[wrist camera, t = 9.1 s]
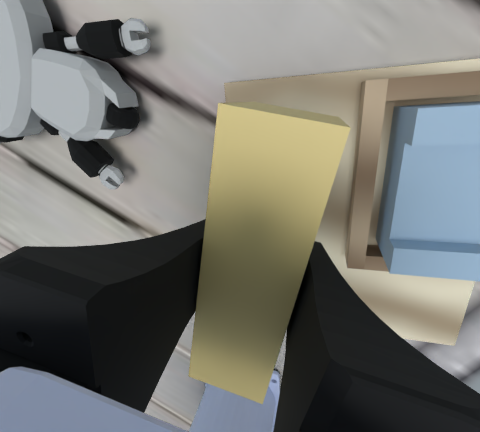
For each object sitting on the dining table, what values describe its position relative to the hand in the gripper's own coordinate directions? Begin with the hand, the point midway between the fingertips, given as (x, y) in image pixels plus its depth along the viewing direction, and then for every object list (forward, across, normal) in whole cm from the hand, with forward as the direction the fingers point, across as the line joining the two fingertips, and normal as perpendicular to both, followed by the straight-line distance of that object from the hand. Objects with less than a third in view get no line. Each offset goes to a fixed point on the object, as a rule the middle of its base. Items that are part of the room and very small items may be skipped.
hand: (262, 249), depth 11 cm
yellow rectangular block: (+1, 0, 0) cm, 1 cm away
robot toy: (+9, +18, -4) cm, 21 cm away
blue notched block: (+8, -8, -3) cm, 11 cm away
